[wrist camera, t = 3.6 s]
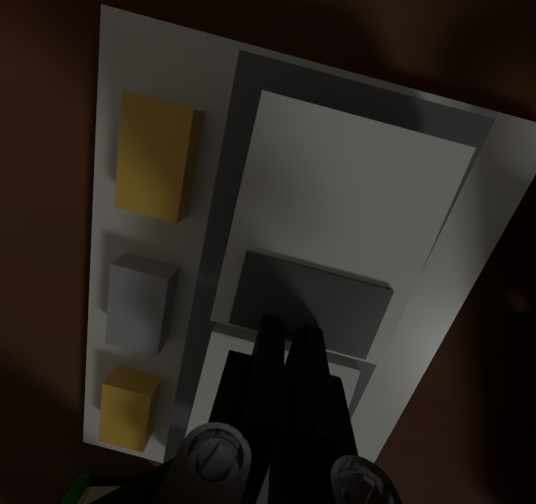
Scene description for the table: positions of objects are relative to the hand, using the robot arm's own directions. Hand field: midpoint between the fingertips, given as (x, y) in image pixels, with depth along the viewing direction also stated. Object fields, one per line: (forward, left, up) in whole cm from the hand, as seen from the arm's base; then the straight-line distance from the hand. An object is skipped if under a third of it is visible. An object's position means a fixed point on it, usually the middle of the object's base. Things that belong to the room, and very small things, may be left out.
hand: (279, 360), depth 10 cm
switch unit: (+4, -1, -8) cm, 9 cm away
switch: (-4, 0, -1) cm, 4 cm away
